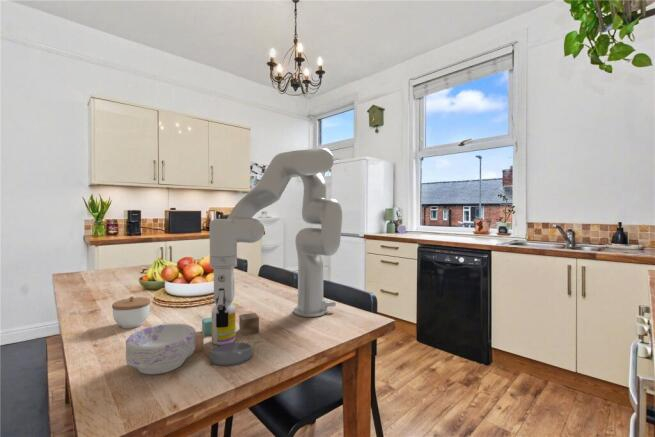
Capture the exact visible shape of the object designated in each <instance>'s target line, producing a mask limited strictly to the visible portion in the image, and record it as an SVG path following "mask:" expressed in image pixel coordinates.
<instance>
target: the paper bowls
mask: <svg viewBox="0 0 655 437" xmlns="http://www.w3.org/2000/svg"><path fill="white" fill-rule="evenodd" d="M196 332H197V331H196V329H195V328H194V327H193V326H191V325H190V324H189V325H188V324H185V323H172V322H171V323H162V324H156V325H152V326H148V327H144V328H141V329H139V330H137V331H134V332H133V333H131V334H130V335H129V336H128V337H127V339H126V340H125V362H126V363H127V365H128V366H130V367H132V368H136V369H137V370H138V371H139V372H140V373H142V374H145V375H162V374H166V373H168V372H169V373H170V372H171V371H174V370H176V369H178V368H179V367H180V366H182V365H183V364H184V363H185V362H186V359H187V358H188V357H190V356H191V355H192V354H193V353H195V352H194V350H195V333H196Z"/></svg>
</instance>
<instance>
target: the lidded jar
mask: <svg viewBox="0 0 655 437" xmlns="http://www.w3.org/2000/svg"><path fill="white" fill-rule="evenodd" d="M111 308H112V316H113V320H114V321H115V323H116V324H117V325H118V326H120V327H121V328H122V329H134V328H137V327H140V326H142V325H143V323H144V322H145V321H146V320H147V319H148V318H149V314H150V311H151V298H148V297H134V296H130V297H129V298H128V297H127V298H124V299H120V300H117V301H115V302H113V303H112V304H111Z"/></svg>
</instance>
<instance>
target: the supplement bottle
mask: <svg viewBox="0 0 655 437" xmlns="http://www.w3.org/2000/svg"><path fill="white" fill-rule="evenodd" d="M223 302H226V300H224V301H223ZM223 306H225V304H224V305H223ZM227 312H228V327H220V328H217V327H216V313H217V304H216V303H215V305H214V306H213V307H212V309H211V317H212V334H211V342H212V343H213V344H214V345H217V346H220V345H223V344H227V343H234V341H235V340H236V335H237V333H236V328H237V327H236V326H237V325H236V307H235V305H233V304H232V302H231V303H230V302H228V305H227Z"/></svg>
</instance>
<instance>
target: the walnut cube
mask: <svg viewBox="0 0 655 437" xmlns="http://www.w3.org/2000/svg"><path fill="white" fill-rule="evenodd" d="M238 318H239V322H238V323H239V325H238V326H239V328H238V330H239V332H240V334H241V335H242V337H244V336H250V335H255V334H259V333H260V317H259V315H257V313H256V312H251V313H243V314H239V317H238Z"/></svg>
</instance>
